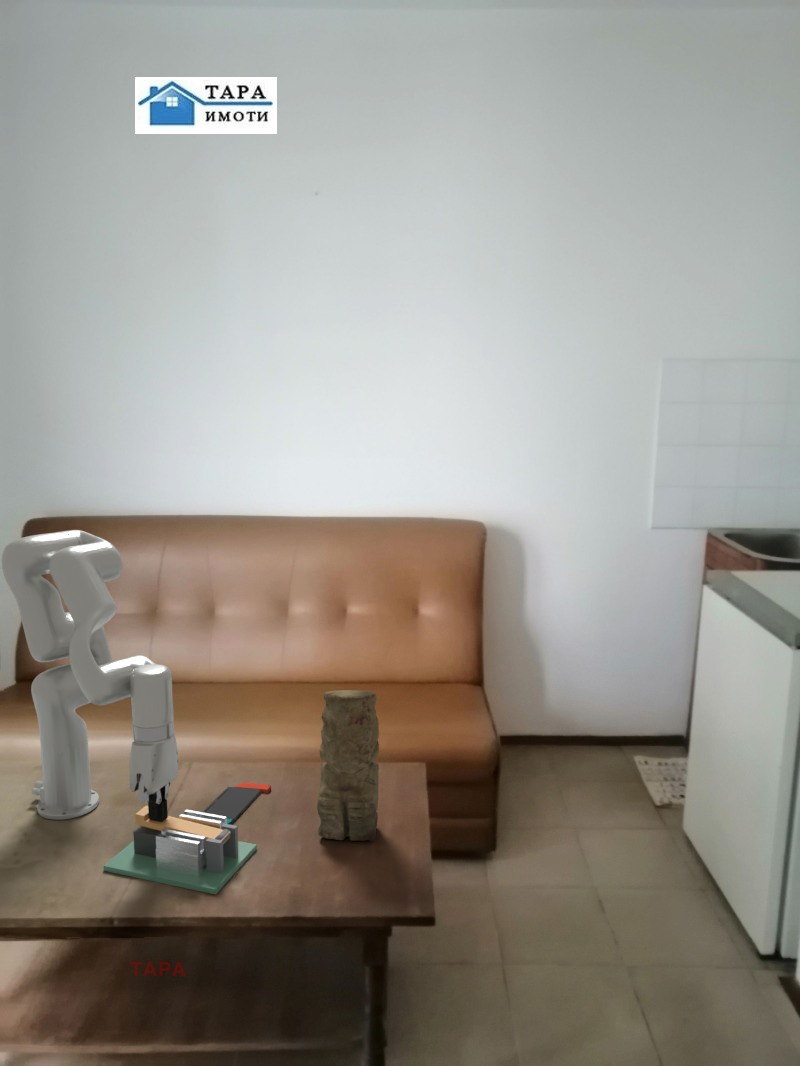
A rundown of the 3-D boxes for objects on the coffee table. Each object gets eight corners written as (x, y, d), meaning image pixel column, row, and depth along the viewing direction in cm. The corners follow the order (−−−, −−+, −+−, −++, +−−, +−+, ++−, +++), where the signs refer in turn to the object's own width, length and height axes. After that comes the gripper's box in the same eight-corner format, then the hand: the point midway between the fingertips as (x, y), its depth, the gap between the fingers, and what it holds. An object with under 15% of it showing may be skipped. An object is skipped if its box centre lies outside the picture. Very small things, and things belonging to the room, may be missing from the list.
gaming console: (192, 826, 178) (235, 831, 176) (192, 822, 178) (235, 826, 175) (233, 785, 197) (273, 788, 194) (233, 781, 196) (273, 784, 194)
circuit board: (103, 870, 161) (101, 835, 160) (152, 829, 176) (151, 796, 175) (215, 894, 154) (214, 858, 152) (256, 849, 168) (255, 815, 167)
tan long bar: (230, 838, 162) (231, 826, 162) (221, 848, 159) (221, 836, 159) (145, 817, 168) (146, 805, 167) (135, 825, 165) (135, 813, 164)
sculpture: (315, 844, 170) (313, 703, 165) (321, 821, 179) (319, 686, 174) (376, 845, 170) (376, 704, 165) (379, 822, 179) (379, 687, 174)
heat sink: (156, 868, 160) (155, 836, 159) (188, 838, 170) (187, 809, 169) (198, 876, 157) (197, 844, 156) (228, 846, 167) (227, 816, 166)
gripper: (159, 713, 170) (163, 798, 173) (112, 742, 156) (118, 835, 159) (192, 717, 167) (196, 804, 170) (147, 748, 153) (152, 841, 156)
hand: (158, 819), depth 165 cm, fingers closed
